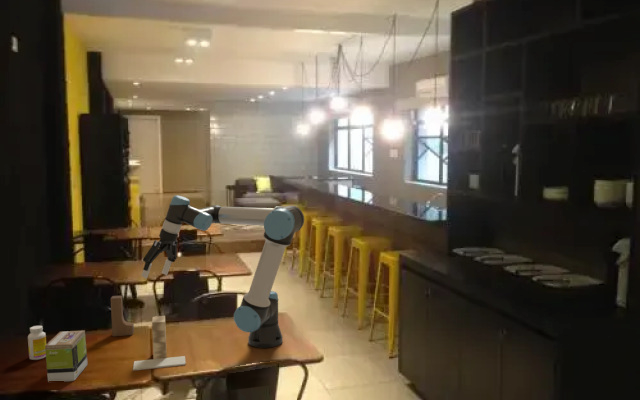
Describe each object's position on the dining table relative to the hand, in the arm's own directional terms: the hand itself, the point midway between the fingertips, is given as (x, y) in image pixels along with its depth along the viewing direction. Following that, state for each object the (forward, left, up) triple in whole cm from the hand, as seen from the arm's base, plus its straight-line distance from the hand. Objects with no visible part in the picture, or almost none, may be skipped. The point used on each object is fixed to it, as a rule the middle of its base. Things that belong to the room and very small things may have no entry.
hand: (154, 275), depth 238 cm
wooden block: (+15, -17, -31) cm, 39 cm away
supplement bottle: (+47, +2, -31) cm, 57 cm away
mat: (-2, +23, -31) cm, 38 cm away
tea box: (+32, +23, -31) cm, 50 cm away
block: (-2, +15, -31) cm, 34 cm away
